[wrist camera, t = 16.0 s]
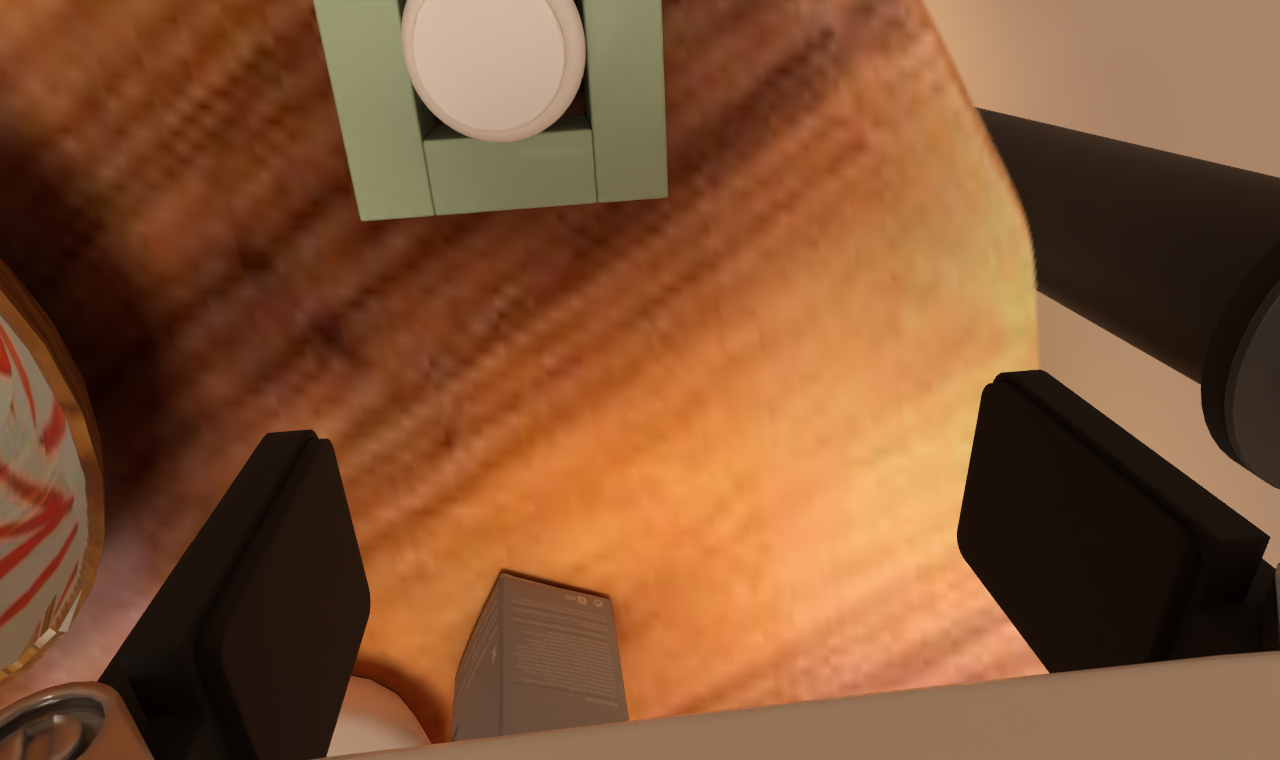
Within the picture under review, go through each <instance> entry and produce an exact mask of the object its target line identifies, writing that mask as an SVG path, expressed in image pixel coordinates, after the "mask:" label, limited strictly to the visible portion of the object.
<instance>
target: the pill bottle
mask: <svg viewBox="0 0 1280 760" xmlns="http://www.w3.org/2000/svg"><path fill="white" fill-rule="evenodd" d="M401 45H402V53H403V59H404V62H405V66H406V69H407V72H408V75H409V77H410V80H411V82H412V84H413V86H414V88H415V90H416V92H417V93H418V95H419V97H420V98H421V100H422V101H423V102H424V104H425V105H426V106H427V107H428V108H429V110H430V111H431V112H432V113H433V114H434V115H435V116H436V117H437V118H439V119H440V120H441V121H442V122H444V123H445V124H446V125H448V126H449V127H451V128H452V129H454V130H455V131H457V132H459V133H461V134H464V135H466V136H468V137H471V138H474V139H478V140H482V141H488V142H513V141H518V140H522V139H526V138H529V137H531V136H533V135H536V134H538V133H540V132H542V131H543V130H545V129H546V128H548V127H549V126H551V125H552V124H553V123H554V122H555V121H557V120H558V119H559V118H560V117H561V116H562V115H563V113H564V112H565V111H566V110H567V108H568V107H569V106H570V104H571V103H572V101H573V99H574V97H575V95H576V93H577V91H578V89H579V86H580V84H581V80H582V77H583V73H584V67H585V59H586V46H585V36H584V30H583V26H582V22H581V19H580V16H579V13H578V10H577V7H576V5H575V3H574V1H573V0H407V1H406V4H405V7H404V11H403V17H402V24H401Z"/></svg>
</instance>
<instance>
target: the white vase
mask: <svg viewBox="0 0 1280 760" xmlns="http://www.w3.org/2000/svg"><path fill="white" fill-rule="evenodd" d="M430 744H431V742H430V740H429V739H428V737H427V735H426V734H425V732H424V730H423V729H422V727H421V725H420V724H419V722H418V720H417V719H416V717H415V715H414V714H413V713H412V711H411V710H410V709H409V708H408V707H407V705H406V704H405V703H404V702H403V700H402V699H401V698H400V697H399V696H398V694H396V693H394V692H392V691H391V690H389V689H387V688H385V687H383V686H381V685H379V684H378V683H376V682H374V681H372V680H370V679H365V678H360V677H355V676H351V677H350V681H349V684H348V687H347V690H346V694H345V697H344V700H343V704H342V707H341V710H340V713H339V717H338V720H337V723H336V727H335V730H334V733H333V737H332V740H331V743H330V746H329V750H328V753H327V756H326V757H332V756H339V755H346V754H355V753H363V752H372V751H380V750H388V749H397V748H405V747H414V746H422V745H430Z"/></svg>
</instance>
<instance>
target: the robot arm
mask: <svg viewBox="0 0 1280 760" xmlns="http://www.w3.org/2000/svg"><path fill="white" fill-rule="evenodd" d="M1269 539H1270V536H1268V535H1267V534H1265V533H1264V532H1263V531H1262V530H1260V529H1259V528H1257V527H1256V526H1255V525H1253V524H1252V523H1251V522H1249V521H1248V520H1247V519H1245V518H1244V517H1243V516H1241V515H1240V514H1238V513H1237V512H1236V511H1234V510H1233V509H1232V508H1230V507H1229V506H1228V505H1226V504H1225V503H1224V502H1222V501H1221V500H1219V499H1218V498H1217V497H1215V496H1214V495H1213V494H1211V493H1210V492H1209V491H1207V490H1206V489H1205V488H1203V487H1202V486H1200V485H1199V484H1198V483H1196V482H1195V481H1194V480H1192V479H1191V478H1190V477H1188V476H1187V475H1185V474H1184V473H1183V472H1181V471H1180V470H1179V469H1177V468H1176V467H1175V466H1173V465H1172V464H1170V463H1169V462H1168V461H1166V460H1165V459H1164V458H1162V457H1161V456H1160V455H1158V454H1157V453H1156V452H1154V451H1153V450H1151V449H1150V448H1149V447H1147V446H1146V445H1145V444H1143V443H1142V442H1141V441H1139V440H1138V439H1136V438H1135V437H1134V436H1133V435H1131V434H1130V433H1128V432H1127V431H1126V430H1124V429H1123V428H1122V427H1120V426H1119V425H1118V424H1116V423H1115V422H1113V421H1112V420H1111V419H1109V418H1108V417H1107V416H1105V415H1104V414H1103V413H1101V412H1100V411H1099V410H1097V409H1096V408H1094V407H1093V406H1092V405H1090V404H1089V403H1087V402H1086V401H1085V400H1083V399H1082V398H1081V397H1080V396H1078V395H1077V394H1075V393H1074V392H1073V391H1071V390H1070V389H1069V388H1067V387H1066V386H1064V385H1063V384H1062V383H1060V382H1059V381H1058V380H1056V379H1055V378H1054V377H1052V376H1051V375H1050V374H1048V373H1047V372H1045V371H1043V370H1029V371H1017V372H1005V373H1000V374H999V375H997V376H996V378H995V379H994V381H993V383H989V384H988V385H986V386H985V388H984V389H983V392H982V396H981V402H980V407H979V413H978V419H977V424H976V430H975V435H974V441H973V446H972V452H971V457H970V463H969V469H968V474H967V480H966V485H965V491H964V496H963V502H962V507H961V513H960V519H959V524H958V530H957V542H958V546H959V550H960V552H961V554H962V556H963V558H964V559H965V561H966V562H967V563H968V565H969V566H970V567H971V569H972V570H973V571H974V573H975V574H976V575H977V577H978V578H979V579H980V581H981V582H982V583H983V585H984V586H985V587H986V589H987V590H988V591H989V593H990V594H991V595H992V597H993V598H994V599H995V601H996V602H997V603H998V605H999V606H1000V607H1001V609H1002V610H1003V611H1004V613H1005V614H1006V615H1007V617H1008V618H1009V619H1010V621H1011V622H1012V623H1013V625H1014V626H1015V627H1016V629H1017V630H1018V631H1019V633H1020V634H1021V635H1022V637H1023V638H1024V639H1025V641H1026V642H1027V643H1028V645H1029V646H1030V647H1031V649H1032V650H1033V651H1034V653H1035V654H1036V655H1037V657H1038V658H1039V659H1040V661H1041V662H1042V663H1043V665H1044V666H1045V668H1046V669H1047V670H1048V672H1049V673H1050V674H1042V675H1032V676H1023V677H1014V678H1005V679H995V680H986V681H977V682H968V683H959V684H950V685H941V686H931V687H922V688H913V689H904V690H895V691H887V692H878V693H869V694H860V695H851V696H842V697H833V698H824V699H815V700H806V701H798V702H789V703H780V704H771V705H763V706H754V707H745V708H736V709H728V710H719V711H710V712H701V713H693V714H684V715H675V716H666V717H658V718H649V719H641V720H633V721H624V722H616V723H607V724H599V725H590V726H582V727H573V728H565V729H557V730H548V731H540V732H531V733H523V734H515V735H506V736H498V737H489V738H481V739H473V740H464V741H456V742H447V743H439V744H430V745H422V746H414V747H405V748H397V749H388V750H380V751H372V752H363V753H355V754H346V755H339V756H332V757H326V756H327V753H328V750H329V746H330V743H331V740H332V737H333V733H334V730H335V727H336V723H337V720H338V717H339V713H340V710H341V707H342V704H343V700H344V697H345V694H346V690H347V687H348V684H349V681H350V677H351V674H352V671H353V667H354V664H355V661H356V657H357V654H358V651H359V648H360V644H361V641H362V638H363V634H364V631H365V628H366V624H367V621H368V618H369V613H370V592H369V587H368V583H367V579H366V575H365V571H364V567H363V563H362V559H361V555H360V551H359V547H358V543H357V539H356V535H355V531H354V527H353V523H352V519H351V515H350V511H349V508H348V504H347V500H346V496H345V492H344V488H343V484H342V480H341V476H340V472H339V468H338V464H337V460H336V456H335V452H334V448H333V445H332V443H331V441H330V440H329V439H318V436H317V435H316V433H315V432H314V431H313V430H299V431H287V432H275V433H267V434H266V435H265V436H264V437H263V439H262V440H261V442H260V443H259V445H258V446H257V448H256V449H255V451H254V452H253V453H252V455H251V456H250V458H249V459H248V461H247V462H246V464H245V465H244V467H243V468H242V470H241V471H240V473H239V474H238V476H237V477H236V479H235V480H234V482H233V483H232V484H231V486H230V487H229V489H228V490H227V492H226V493H225V495H224V496H223V498H222V499H221V501H220V502H219V504H218V505H217V507H216V508H215V510H214V511H213V513H212V514H211V516H210V517H209V518H208V520H207V521H206V523H205V524H204V526H203V527H202V529H201V530H200V532H199V533H198V535H197V536H196V538H195V539H194V541H193V542H192V543H191V544H190V545H189V547H188V548H187V550H186V551H185V553H184V554H183V556H182V557H181V559H180V560H179V562H178V563H177V565H176V566H175V568H174V569H173V571H172V572H171V574H170V575H169V576H168V578H167V579H166V581H165V582H164V584H163V585H162V587H161V588H160V590H159V591H158V593H157V594H156V596H155V597H154V599H153V600H152V602H151V603H150V604H149V606H148V607H147V609H146V610H145V612H144V613H143V615H142V616H141V618H140V619H139V621H138V622H137V624H136V625H135V627H134V628H133V630H132V631H131V632H130V634H129V635H128V637H127V638H126V640H125V641H124V643H123V644H122V646H121V647H120V649H119V650H118V652H117V653H116V655H115V656H114V658H113V659H112V661H111V662H110V663H109V665H108V666H107V668H106V669H105V671H104V672H103V674H102V675H101V677H100V678H99V680H98V681H97V682H95V681H88V682H70V683H66V684H62V685H58V686H54V687H50V688H46V689H43V690H41V691H39V692H36V693H34V694H31V695H29V696H27V697H24V698H22V699H20V700H17V701H16V702H14V703H12V704H11V705H9V706H7V707H5V708H4V709H2V710H0V760H1280V563H1279V564H1278V565H1277V568H1276V569H1275V568H1274V567H1272V566H1271V565H1270V564H1268V563H1267V562H1266V561H1265V560H1263V559H1262V557H1263V554H1264V552H1265V549H1266V547H1267V544H1268V542H1269Z"/></svg>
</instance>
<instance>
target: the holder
mask: <svg viewBox="0 0 1280 760" xmlns="http://www.w3.org/2000/svg"><path fill="white" fill-rule="evenodd" d="M406 1H407V0H313V3H314V8H315V13H316V17H317V22H318V27H319V31H320V36H321V40H322V45H323V50H324V54H325V59H326V63H327V68H328V73H329V77H330V82H331V86H332V91H333V96H334V100H335V105H336V110H337V114H338V119H339V123H340V128H341V133H342V137H343V142H344V146H345V151H346V156H347V160H348V165H349V169H350V174H351V179H352V183H353V188H354V192H355V197H356V202H357V206H358V211H359V216H360V219H361V221H373V220H386V219H399V218H412V217H425V216H433V215H435V214H436V215H450V214H463V213H476V212H489V211H502V210H515V209H527V208H540V207H553V206H566V205H579V204H592V203H596V202H597V201H598V202H599V203H605V202H617V201H630V200H643V199H656V198H666V197H668V174H667V144H666V115H665V85H664V55H663V26H662V0H577V5H578V13H579V16H580V19H581V22H582V26H583V30H584V36H585V46H586V59H585V67H584V73H583V82H584V94H585V107H586V116H585V115H572V116H561V117H560V118H559V119H558V120H557V121H555V122H554V123H553V124H552V125H551V126H549V127H548V128H546V129H545V130H543V131H542V132H540V133H538V134H536V135H533V136H531V137H529V138H526V139H522V140H518V141H513V142H488V141H482V140H478V139H474V138H471V137H468V136H466V135H464V134H461V133H459V132H457V131H455V130H454V129H452V128H451V127H449V126H448V125H446V124H440V125H437V126H436V121H435V115H434V114H433V113H432V112H431V111H430V110H429V108H428V107H427V106H426V105H425V104H424V102H423V101H422V100H421V98H420V97H419V95H418V93H417V92H416V90H415V88H414V86H413V84H412V82H411V80H410V77H409V75H408V72H407V69H406V66H405V62H404V59H403V53H402V45H401V24H402V17H403V11H404V7H405V4H406Z"/></svg>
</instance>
